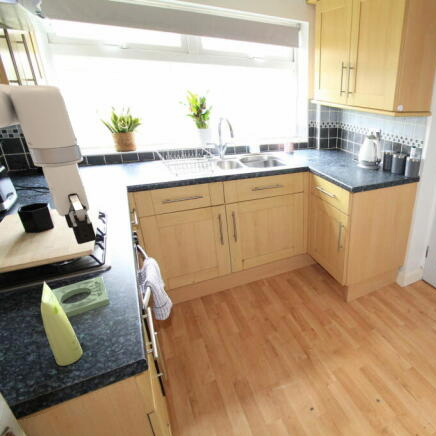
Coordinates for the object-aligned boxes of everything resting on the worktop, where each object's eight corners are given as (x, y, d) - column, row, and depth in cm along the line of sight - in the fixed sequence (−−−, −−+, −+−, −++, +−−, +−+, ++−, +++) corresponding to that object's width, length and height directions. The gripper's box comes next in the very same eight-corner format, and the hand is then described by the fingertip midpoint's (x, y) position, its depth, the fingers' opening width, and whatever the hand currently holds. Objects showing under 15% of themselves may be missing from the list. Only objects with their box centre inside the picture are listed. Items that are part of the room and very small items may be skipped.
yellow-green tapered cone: (90, 352, 76) (65, 285, 68) (70, 369, 72) (41, 299, 64) (71, 347, 77) (44, 281, 69) (50, 364, 73) (19, 295, 65)
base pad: (47, 328, 83) (43, 319, 81) (47, 300, 92) (44, 292, 91) (111, 307, 91) (108, 298, 89) (104, 283, 101) (102, 275, 99)
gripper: (26, 149, 64) (53, 225, 71) (37, 167, 53) (67, 255, 60) (72, 144, 69) (93, 216, 76) (90, 160, 58) (113, 242, 65)
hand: (82, 233), depth 68 cm, fingers open, 9 cm apart
